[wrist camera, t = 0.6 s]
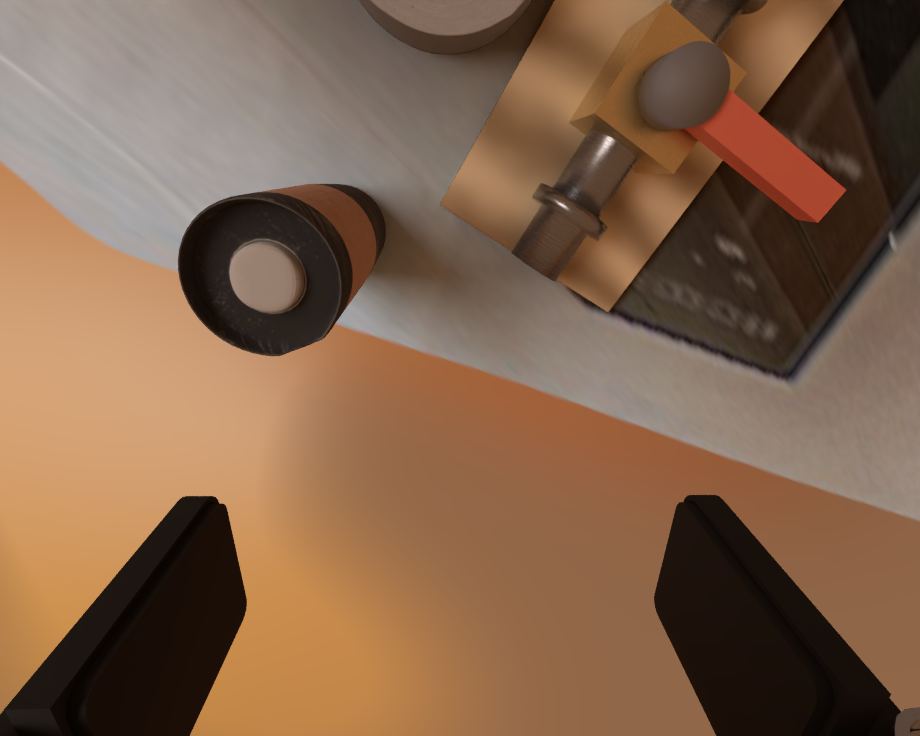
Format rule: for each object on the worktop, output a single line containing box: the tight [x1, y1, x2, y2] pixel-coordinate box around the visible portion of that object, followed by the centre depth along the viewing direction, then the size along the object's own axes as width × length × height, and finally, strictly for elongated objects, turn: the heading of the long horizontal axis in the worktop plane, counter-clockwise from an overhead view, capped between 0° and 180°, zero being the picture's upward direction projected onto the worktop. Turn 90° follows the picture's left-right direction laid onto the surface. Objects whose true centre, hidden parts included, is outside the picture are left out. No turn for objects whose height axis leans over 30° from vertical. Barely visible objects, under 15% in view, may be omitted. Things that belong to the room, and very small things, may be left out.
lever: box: [638, 41, 846, 223], centre depth 29 cm, size 15×4×3 cm, turn 59°
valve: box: [512, 0, 768, 281], centre depth 33 cm, size 28×7×8 cm, turn 149°
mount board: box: [440, 0, 844, 312], centre depth 36 cm, size 28×18×1 cm, turn 149°
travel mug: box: [178, 184, 386, 356], centre depth 30 cm, size 8×8×20 cm
